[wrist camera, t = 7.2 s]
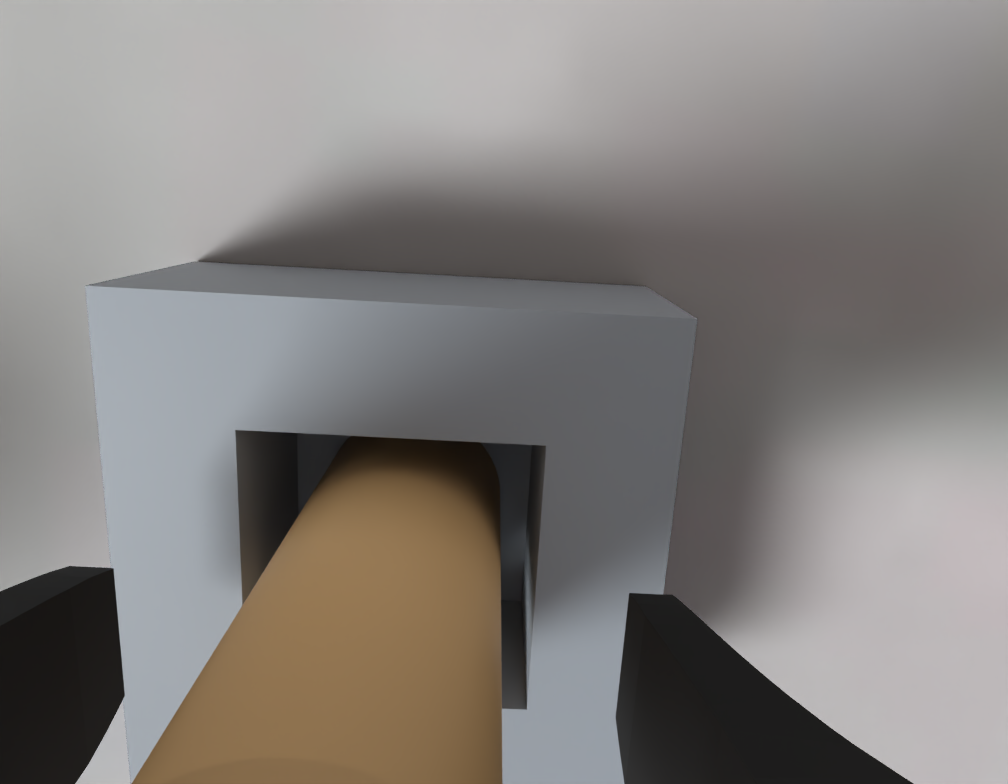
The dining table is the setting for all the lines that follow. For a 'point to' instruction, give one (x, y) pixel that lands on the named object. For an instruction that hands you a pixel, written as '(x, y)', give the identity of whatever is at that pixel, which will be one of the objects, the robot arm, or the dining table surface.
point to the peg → (361, 636)
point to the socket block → (391, 414)
